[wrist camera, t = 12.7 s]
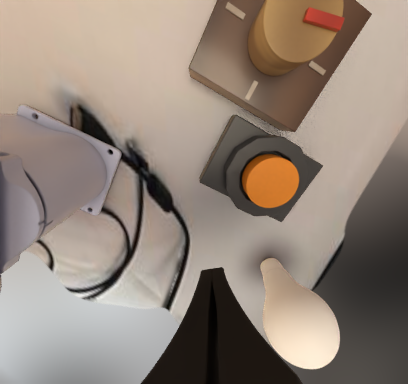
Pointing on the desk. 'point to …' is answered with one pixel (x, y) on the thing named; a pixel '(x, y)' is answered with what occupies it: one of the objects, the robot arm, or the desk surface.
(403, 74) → the desk surface
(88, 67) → the desk surface
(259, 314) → the desk surface
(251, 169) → the power button
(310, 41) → the dimmer knob
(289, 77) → the dimmer console
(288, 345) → the lightbulb
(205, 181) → the switch block
